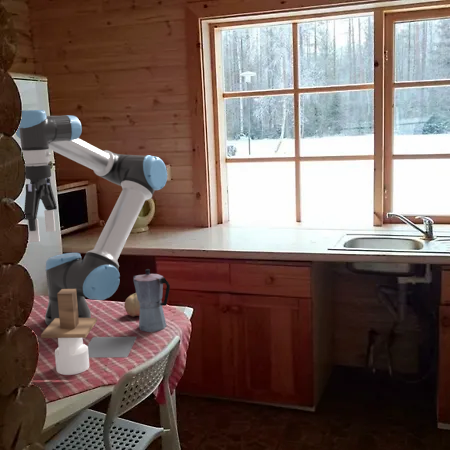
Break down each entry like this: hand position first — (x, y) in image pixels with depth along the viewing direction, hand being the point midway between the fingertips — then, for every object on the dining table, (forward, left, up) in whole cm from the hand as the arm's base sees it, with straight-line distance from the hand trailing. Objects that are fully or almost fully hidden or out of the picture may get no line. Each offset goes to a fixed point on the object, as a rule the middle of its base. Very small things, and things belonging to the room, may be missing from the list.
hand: (43, 236), depth 174 cm
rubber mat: (+2, +18, -35) cm, 39 cm away
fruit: (-26, +21, -35) cm, 48 cm away
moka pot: (-14, +29, -35) cm, 47 cm away
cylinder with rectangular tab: (+16, +11, -35) cm, 40 cm away
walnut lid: (+16, +11, -23) cm, 30 cm away
